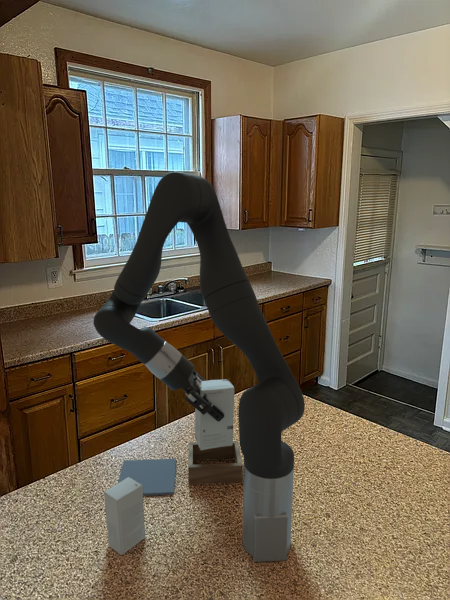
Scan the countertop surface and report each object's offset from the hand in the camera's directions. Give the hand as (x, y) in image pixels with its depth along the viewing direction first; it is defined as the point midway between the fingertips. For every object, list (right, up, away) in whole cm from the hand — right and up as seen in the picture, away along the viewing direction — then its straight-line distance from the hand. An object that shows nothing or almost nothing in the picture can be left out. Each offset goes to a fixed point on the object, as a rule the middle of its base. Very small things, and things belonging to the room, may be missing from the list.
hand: (220, 410), depth 106 cm
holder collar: (-2, -15, +4) cm, 16 cm away
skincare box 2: (-2, -8, +2) cm, 8 cm away
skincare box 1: (-18, -21, -19) cm, 33 cm away
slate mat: (-17, -16, +1) cm, 24 cm away
